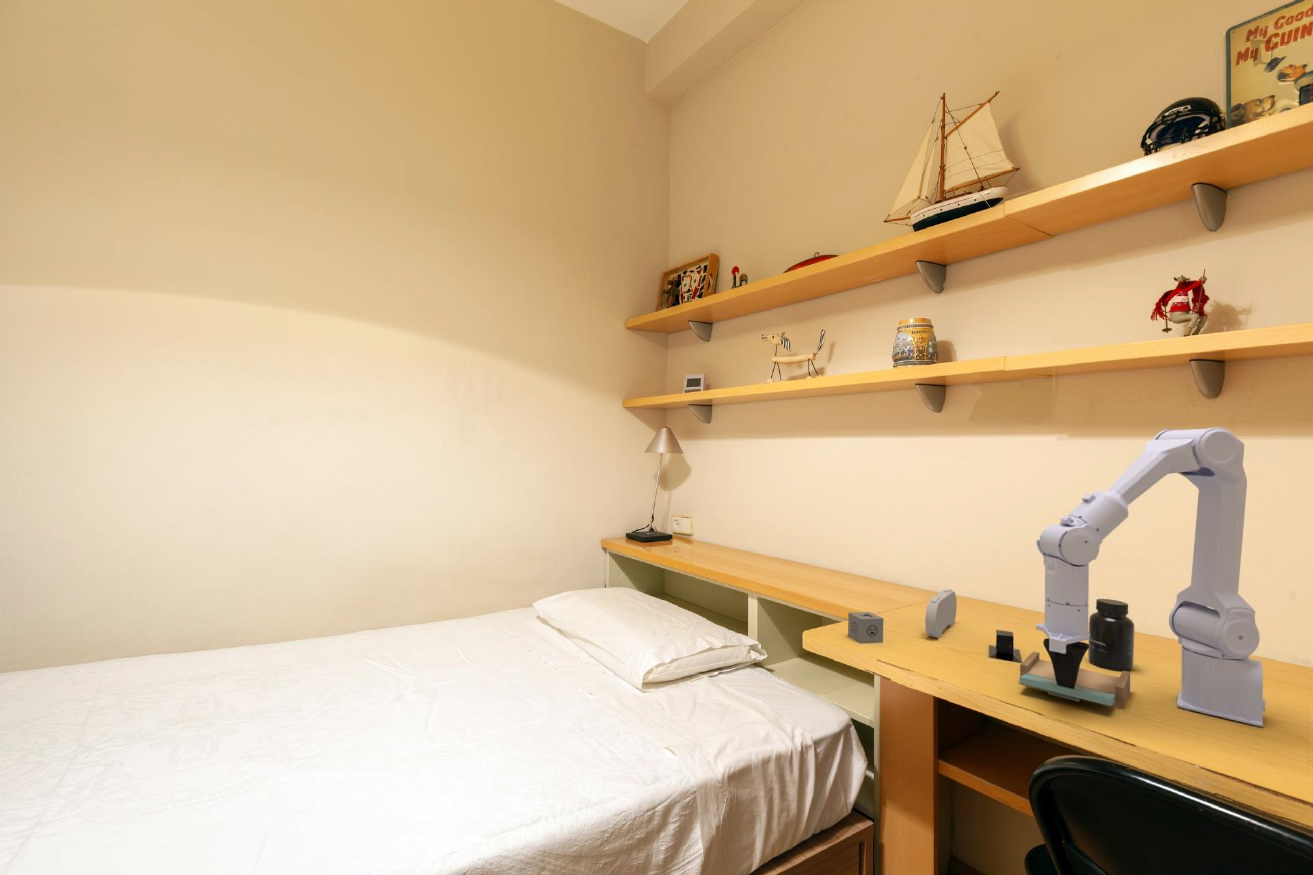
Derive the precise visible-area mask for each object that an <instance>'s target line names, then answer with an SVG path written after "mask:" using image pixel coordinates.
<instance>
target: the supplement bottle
mask: <svg viewBox="0 0 1313 875" xmlns="http://www.w3.org/2000/svg"><path fill="white" fill-rule="evenodd" d="M1095 603H1096V605H1095V609H1096V610H1097V611H1096V612H1094V613H1092V614H1090V615H1089V618H1088V632H1089V633H1090V638H1089V639H1088V644H1089V648H1088V650H1087V651H1088V652H1087V654H1088V656H1087V657H1088V660H1089V662H1090V663H1091V664H1093V665H1095V666H1097V667H1099V668H1102V669H1108V670H1111V671H1119V672H1122V671H1126V672H1130V671H1131V670H1132V669H1133V668H1134V658H1135V657H1134V655H1135V654H1134V652H1135V650H1134V649H1135V623H1134V621H1133V620H1132V619H1130V618H1129V617H1128V615H1129V604H1128V603H1127V602H1124V601H1121V600H1116V599H1110V598H1109V599H1108V598H1097V599H1096V602H1095Z"/></svg>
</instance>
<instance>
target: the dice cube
mask: <svg viewBox="0 0 1313 875" xmlns="http://www.w3.org/2000/svg"><path fill="white" fill-rule="evenodd" d="M847 620H848V622H847V624H848V627H847V637H849V638H850V639H853V640H854V641H856V642H857V643H859V644H876V643H877V644H879V643H881V644H882V643H884V617H882V616H879V615H878V614H875V613H873V612H870V611H861V612H859V611H857V612H848V618H847Z"/></svg>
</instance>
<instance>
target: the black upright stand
mask: <svg viewBox="0 0 1313 875" xmlns="http://www.w3.org/2000/svg"><path fill="white" fill-rule="evenodd" d="M995 632H996V633H995V645H994V644H988V658H989V659H994V660H1001V661H1007V662H1013V663H1017V664H1021V663H1022V662H1023V659H1022V654H1021V651H1020V649H1018V648H1014V636H1015V635H1014V632H1013V631H1009V630H1001V629H995Z"/></svg>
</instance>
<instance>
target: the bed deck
mask: <svg viewBox="0 0 1313 875" xmlns="http://www.w3.org/2000/svg"><path fill="white" fill-rule="evenodd" d="M1019 664H1020V665H1019V666H1020V667H1019V669H1020V671H1019V677H1020V676H1023V675H1025V674H1030V675H1034V676H1038V677H1043V678H1047V679H1051V680H1055V681H1056V678H1055V674H1054V669H1053V665H1052V662H1051V661H1049V660H1043V659H1041V658H1040V652H1037V651H1032V652H1031V653H1030V654H1029V655H1028V656H1027V657H1026V658H1025V659H1024V660H1022V663H1019ZM1075 685H1076V686H1080V687H1085V688H1089V689H1093V690H1097V691H1101V692H1106V693H1110V694H1114V695H1115V702H1114V703H1113V705H1112V706H1111V707H1113V708H1116V709H1117V708H1118V709H1122V710H1124V709H1125V707H1126V703H1127V700H1128V698H1129V696H1130V693H1131V672H1130V671H1121V674H1120V675H1119V676H1116V675H1111V674H1107V673H1101V672H1097V671H1094V670H1089V669H1085V668H1080V667H1079V672H1078V676H1077V681H1076V684H1075ZM1035 688H1037V687H1035ZM1037 689H1038V688H1037ZM1040 689H1041V688H1039V690H1040ZM1041 690H1042V689H1041ZM1043 690H1044V691H1045V689H1043ZM1047 691H1048V692H1049V690H1047ZM1080 700H1082V699H1081V698H1080Z"/></svg>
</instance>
